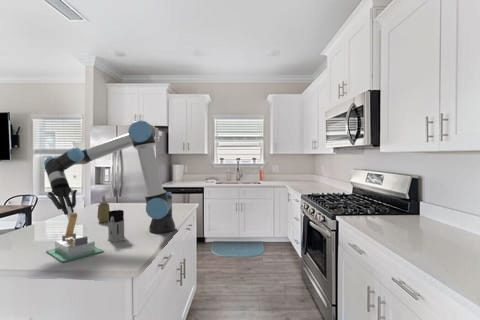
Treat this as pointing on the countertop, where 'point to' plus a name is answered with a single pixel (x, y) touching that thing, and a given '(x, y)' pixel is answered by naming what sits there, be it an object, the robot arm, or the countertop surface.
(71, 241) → the green base fixture
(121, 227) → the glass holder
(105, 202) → the squeeze bottle
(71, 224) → the tan rectangular bar
